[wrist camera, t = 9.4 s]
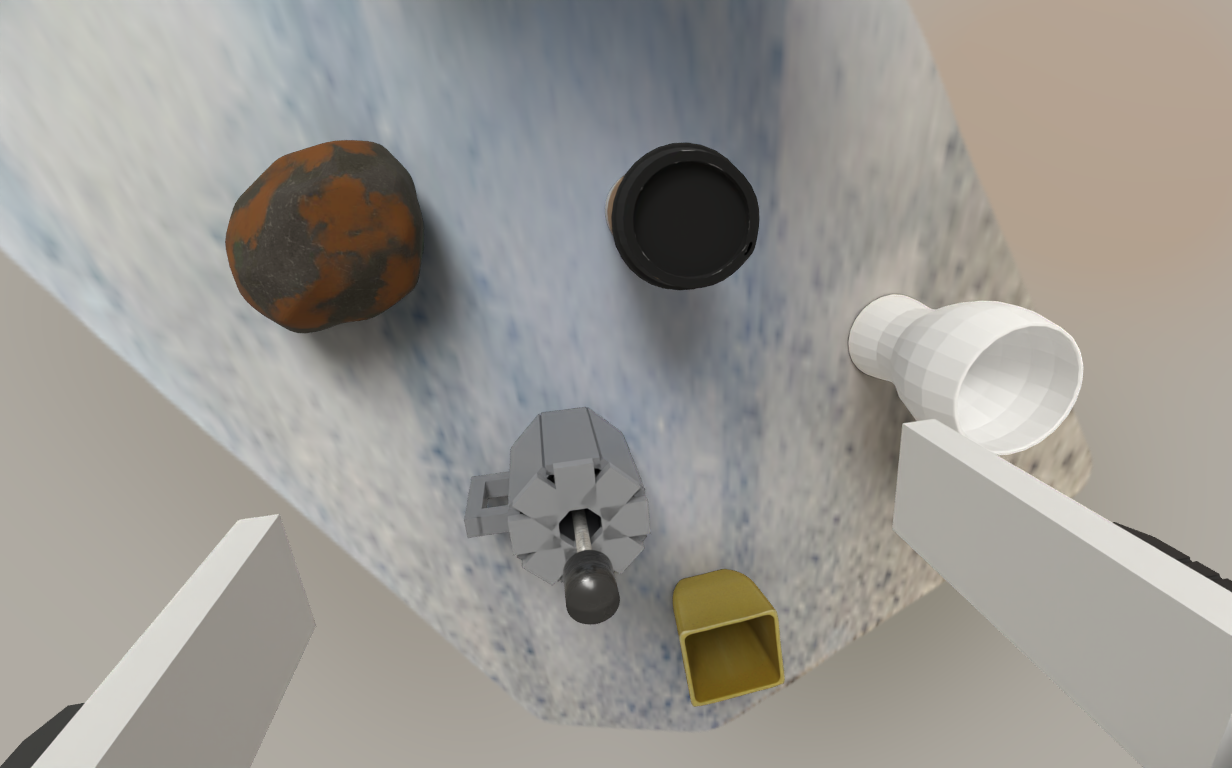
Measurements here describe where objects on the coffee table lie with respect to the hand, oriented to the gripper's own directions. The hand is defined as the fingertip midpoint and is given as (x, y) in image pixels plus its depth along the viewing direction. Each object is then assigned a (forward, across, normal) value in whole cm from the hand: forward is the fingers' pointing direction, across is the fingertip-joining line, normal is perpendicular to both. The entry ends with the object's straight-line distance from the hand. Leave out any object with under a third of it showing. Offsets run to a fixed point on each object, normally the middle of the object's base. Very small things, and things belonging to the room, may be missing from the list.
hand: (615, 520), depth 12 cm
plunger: (+34, 0, -17) cm, 38 cm away
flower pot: (+36, +12, -34) cm, 51 cm away
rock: (+37, -14, +4) cm, 40 cm away
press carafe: (+36, -2, -17) cm, 40 cm away
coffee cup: (+37, +8, +4) cm, 38 cm away
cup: (+37, +30, -9) cm, 48 cm away
